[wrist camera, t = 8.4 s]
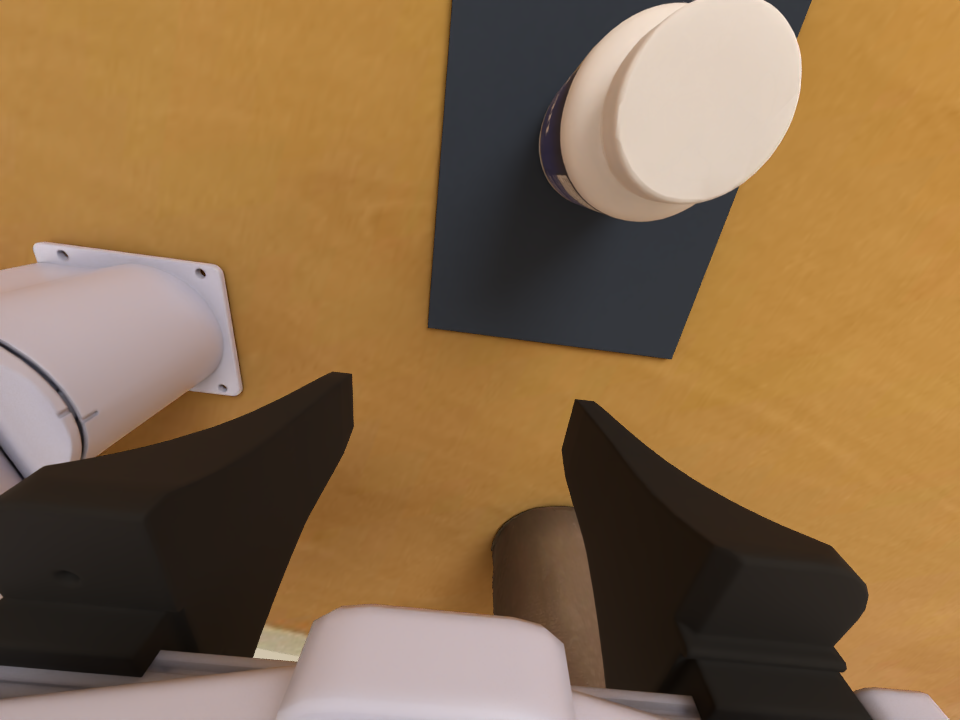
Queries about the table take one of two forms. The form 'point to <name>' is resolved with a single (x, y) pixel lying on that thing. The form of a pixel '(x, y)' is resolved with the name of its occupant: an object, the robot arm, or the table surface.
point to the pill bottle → (673, 108)
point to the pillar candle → (550, 585)
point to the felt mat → (550, 196)
